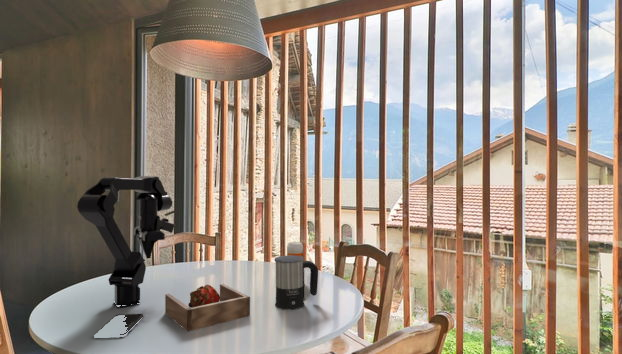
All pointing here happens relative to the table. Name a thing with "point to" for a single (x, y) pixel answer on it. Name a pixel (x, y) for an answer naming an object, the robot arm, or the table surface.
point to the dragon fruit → (203, 296)
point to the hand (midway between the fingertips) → (148, 258)
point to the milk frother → (293, 281)
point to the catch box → (209, 309)
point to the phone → (131, 320)
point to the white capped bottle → (295, 249)
